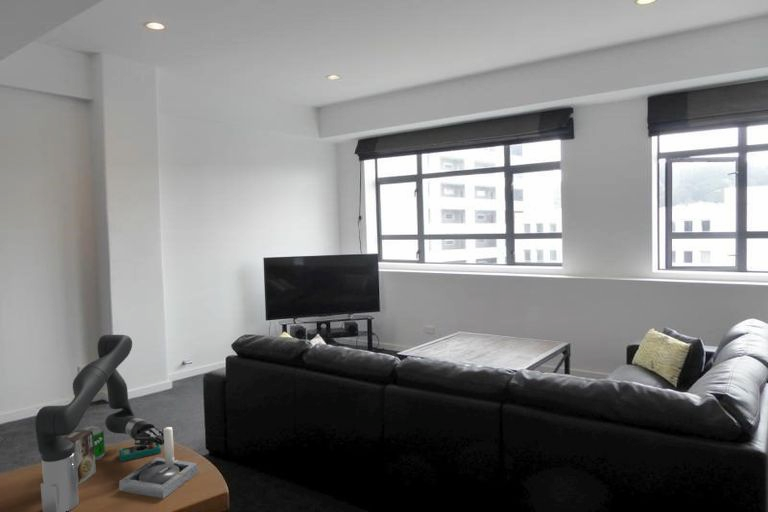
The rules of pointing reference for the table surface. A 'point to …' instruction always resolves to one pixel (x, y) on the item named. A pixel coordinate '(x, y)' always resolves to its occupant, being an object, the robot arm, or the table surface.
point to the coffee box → (83, 453)
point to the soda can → (97, 440)
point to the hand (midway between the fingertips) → (163, 441)
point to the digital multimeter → (139, 451)
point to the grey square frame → (158, 490)
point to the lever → (166, 470)
